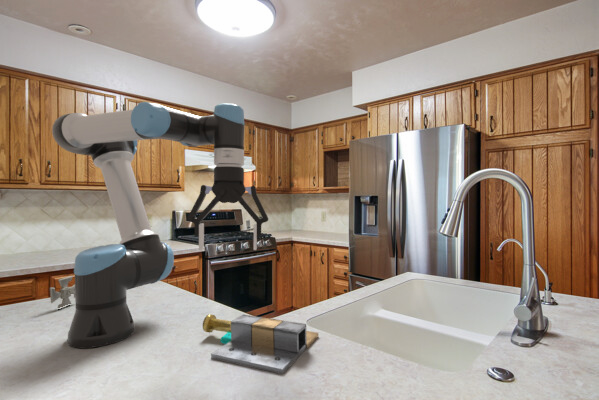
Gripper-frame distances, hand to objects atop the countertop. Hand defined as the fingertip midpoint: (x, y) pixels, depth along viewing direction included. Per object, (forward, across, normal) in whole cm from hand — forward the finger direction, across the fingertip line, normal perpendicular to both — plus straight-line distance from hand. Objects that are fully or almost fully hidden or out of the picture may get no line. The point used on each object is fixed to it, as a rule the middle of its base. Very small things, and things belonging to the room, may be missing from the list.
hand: (228, 249), depth 87 cm
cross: (+25, -57, +33) cm, 71 cm away
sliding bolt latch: (+22, +10, -7) cm, 26 cm away
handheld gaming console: (+23, +6, -2) cm, 24 cm away
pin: (+22, +3, -3) cm, 22 cm away
